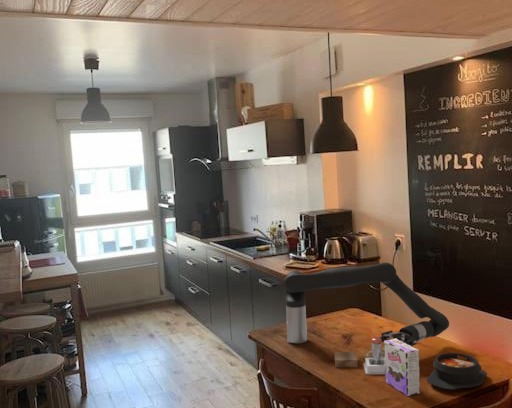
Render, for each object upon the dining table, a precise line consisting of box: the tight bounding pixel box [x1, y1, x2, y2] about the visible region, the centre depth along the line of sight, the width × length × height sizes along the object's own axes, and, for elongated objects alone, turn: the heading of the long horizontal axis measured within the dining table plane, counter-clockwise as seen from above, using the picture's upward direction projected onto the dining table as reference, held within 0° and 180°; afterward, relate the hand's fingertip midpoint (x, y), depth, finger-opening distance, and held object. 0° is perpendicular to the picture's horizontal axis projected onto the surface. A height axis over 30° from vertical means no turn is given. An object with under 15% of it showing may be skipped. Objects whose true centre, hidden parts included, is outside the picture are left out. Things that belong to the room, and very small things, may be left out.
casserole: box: [426, 352, 488, 391], centre depth 195 cm, size 25×19×8 cm
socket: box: [362, 357, 385, 375], centre depth 210 cm, size 10×10×3 cm
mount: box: [333, 351, 359, 368], centre depth 218 cm, size 9×9×3 cm
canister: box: [370, 336, 383, 365], centre depth 210 cm, size 4×4×12 cm
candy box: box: [383, 338, 421, 397], centre depth 192 cm, size 14×6×16 cm, turn 21°
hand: (386, 343), depth 212 cm, fingers open, 8 cm apart
